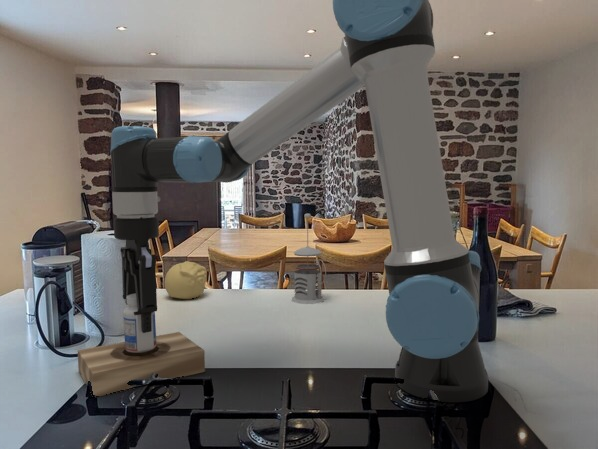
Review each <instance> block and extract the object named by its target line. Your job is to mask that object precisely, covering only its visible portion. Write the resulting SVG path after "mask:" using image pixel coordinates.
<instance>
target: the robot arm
mask: <svg viewBox="0 0 598 449" xmlns="http://www.w3.org/2000/svg"><path fill="white" fill-rule="evenodd" d="M332 10H333V15H334V17H335V20H336V23H337V26H338V27H339V29H340V30H341V31H342V32H343V33H344V37H343V38H342V39H341V43H340V46H339V48H338V49H336V50H335V51H334V52H332V53H331V54H330V55H329V56H327V57H326V58H325V59H323V60H322V61H321V62H319V63H318V64H317V65H315V66H314V67H313V68H311V69H310V70H309V71H307V72H306V73H304V74H303V75H302V76H300V77H299V78H298V79H296V80H295V81H294V82H292V83H291V84H290V85H289V86H288V87H286V88H284V89H283V90H282V91H280V92H279V93H278V94H277V95H275V96H274V97H273V98H272V99H270V100H269V101H267V102H266V103H265V104H263V105H262V106H260V107H259V108H258V109H256V110H255V111H254V112H252V113H251V114H250V115H249V116H247V117H246V118H244V119H243V120H241V121H240V122H239V123H238V124H237V125H235V126H234V127H232V128H231V129H230V130H229V131H228V132H226V133H225V134H223V135H222V136H220V137H219V138H218V139H216V140H214V139H213V138H212V137H210V136H200V135H198V136H196V135H188V136H177V137H162V138H161V137H157V134H156V130H155V129H154V128H152V127H149V126H138V125H133V126H128V125H126V126H125V125H123V126H117V127H115V128H113V129H112V131H111V135H110V136H111V137H110V138H111V139H110V151H109V153H110V159H111V160H110V161H111V162H110V163H111V172H112V173H111V178H112V191H111V192H112V194H111V196H112V197H111V198H112V213H113V215H115V216H116V217H115V218H114V219H113V234H114V235H113V236H114V238H115V239H117V240H119V241H125V246H123V247H121V248H120V256H121V271H122V272H121V273H122V274H121V276H122V281H121V282H122V299H123V300H124V303H125V305H126V308H127V307H128V305H127V296H128V295H130V294H135V293H136V299H137V308H138V311H137V312H134V315H136V331H137V350H138V351H142V350H147V349H152V348H154V337H153V312H154V311H155V312H157V311H158V303H157V302H158V301H157V300H158V296H157V294H158V293H157V273H156V272H157V271H156V266H157V256H156V254H153V253H152V249H151V248H150V243H149V240H151V239H157V238H158V237H159V235H160V231H159V230H160V229H159V228H160V227H159V225H160V224H159V218H158V217H157V216H155V215H157V214H158V212H159V205H158V204H159V202H161V197H160V196H158V186H159V185H158V183H190V184H202V183H211V182H212V183H213V182H214V183H219V182H220V183H226V184H227V183H232V182H236V181H239V180H241V179H243V178H244V177H245V176H246V175H247V174H248V171H249V170H250V167H252V165H253V164H255V163H256V162H258V161H259V160H260V159H262V158H263V157H265V156H266V155H268V154H269V153H271V152H272V151H274V150H275V149H277V147H279V146H281V145H282V144H284V143H285V142H287V141H288V140H289V139H291V138H292V137H293V136H296V135H297V134H298V133H300V132H301V131H302V130H304V129H305V128H306V127H308V126H310V125H312V123H314V122H315V121H316V120H318V119H319V118H320V117H323V116H324V115H325V114H327V113H328V112H329V111H331V110H332V109H334V108H335V107H337V106H338V105H340V104H341V103H343V102H344V101H346V100H347V99H349V98H350V97H351V96H352V95H354V94H356V93H357V92H358V91H360V90H361V89H363V88H365V94H366V100H367V106H368V111H369V116H370V117H369V118H370V123H371V130H372V135H373V142H374V147H375V153H376V159H377V165H378V170H379V176H380V183H381V188H382V195H383V199H384V206H385V212H386V218H387V224H388V229H389V236H390V242H391V247H392V248H391V250H390V252H389V254H388V255H387V256H386V257H385V259H384V260H383V262H384V263H383V264H384V270H385V276H386V283H387V287H388V297H387V300H386V305H385V321H386V324H387V328H388V330H389V332H390V334H391V336H392V337H393V339H394V340H395V341H396V342H397V344H398V345H400V346H401V350H400V353H399V357H398V360H397V361H396V364H395V367H394V368H395V369H394V371H395V372H394V378H395V377H396V378H401V379H404V383H403V384H396V385H397V386H398V387H399V389H401V390H402V391H404V392H406V393H408V394H409V395H412V396H415V397H418V398H420V397H421V399H424V398H427V397H428V392H429V391H430V390H432V391H434V393H435V394H436V395H437V397H438V398H439V400H440V401H441V403H442V402H443V403H467V402H471V401H475V400H478V399H481V398H482V397H484V396H485V395H486V394H487V393H488V392H489V373H488V372H487V370H486V366H485V362H484V358H483V355H482V351H481V348H480V344H479V324H480V313H479V312H480V282H481V281H480V280H481V278H480V277H481V272H482V265H481V257H480V254H479V253H478V252H477V251H475V250H469V249H468V248H467V247H466V246H464V245H463V244H462V243H460V242H459V241H457V240H456V238H455V232H454V228H453V221H452V215H451V209H450V203H449V197H448V191H447V186H446V184H447V183H446V178H445V172H444V168H443V161H442V154H441V148H440V143H439V137H438V131H437V124H436V119H435V114H434V106H433V102H432V95H431V89H430V83H429V77H428V71H427V67H428V65H429V63H430V62H431V60H432V58H434V55H435V54H436V48H435V43H434V42H435V41H434V34H433V28H434V13H433V9H432V5H431V3H430V1H429V0H332ZM440 401H439V402H440Z"/></svg>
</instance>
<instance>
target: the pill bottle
mask: <svg viewBox="0 0 598 449" xmlns="http://www.w3.org/2000/svg"><path fill="white" fill-rule="evenodd" d="M127 306H128V307H127ZM137 311H138V308H137V299H136V293H135V294H130V295H128V296H127V305H126V307H125V309H124V310H123V312H122V314H123V330H124V331H123V332H124V334H123V335H124V342H125V349H126V351H128V352H132V353H142V352H147V351H150V350H152V349H154V348H155V347H156V336H157V331H156V330H157V329H156V327H157V326H156V311H154V312H153V337H154V348H152V349H147V350H142V351H138V350H137V331H136V315H134V312H137Z"/></svg>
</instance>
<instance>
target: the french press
mask: <svg viewBox="0 0 598 449" xmlns="http://www.w3.org/2000/svg"><path fill="white" fill-rule="evenodd" d="M304 218H306V220H307V222H306V224H307V225H306V228H307V230H306V232H307V234H306V235H307V236H306V239H307V240H306V242H307V243H306V244H307V245H306V247H301V248H299V249H297V250H295V251H294V252H293V254H294V256H297V257H307V262H306V264H304V263H303V264H302V263H301V264H297V265H296V266H295V269H297V270H295V271H293V273H294V274H293V275H294V276H293V277H294V290H293V291H294V296H292V298H291V299H292V300H291V302H293V301H294V303H295V302H297V303H296V304H301V305H302V304H303V305H314V304H320V303H323V302H324V301H325V300H326V299H325V297H323V296H322V284H323V283H324V282H325V281H326V277H327V269H326V265H325V263H324V261H323V260H322V259H321V258H318V260H317V259H314V260H313V263H314V264H313V263H312V264H310V263H309V257H319V256H320V255H322V253H323V252H322V251H321V250H319V249H318V248H315V247H312V246H309V218H312V214H311V213H305V214H304ZM320 261H321V262H322V264H323V267H324V279H323V281H322V267H321V264H320ZM319 269H320V270H319ZM316 280H317V281H316Z"/></svg>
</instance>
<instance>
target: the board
mask: <svg viewBox="0 0 598 449" xmlns="http://www.w3.org/2000/svg"><path fill="white" fill-rule="evenodd" d="M205 355H206V354H205V349H204V348H203V347H201V346H199V344H196V343H195V342H194V341H192V340H191V339H189V338H188V337H187V336H185V335H184V334H183V333H181V332H180V331H177V332H171V333H166V334H158V335H156V347H155V348H154V349H152V350H150V351H147V352H142V353H132V352H128V351H126V349H125V341H122V342H115V343H110V344H105V345H98V346H94V347H87V348H83V349H78V350H77V363H78V364H77V367H78V373H79V375H80V377H81V378H82V380H83V381H84V384H85V385H86V384H87V382H88V381H90V382H91V386H92V391H93V395H96V396H99V397H102V396H107V395H111V394H110V393H112V394H114V393H113V392H116V391H120V390H124V391H126V390H125V389H129V388H132V387H133V386H130V385H128V384H127V383H128V382H129V381H131V380H134V379H146V378H147V377H149V376H150V375H151V374H152V373H157V374H158V377H161V378H171V377H180V378H183V377H182V376H184V377H187V376H192V375H196V374H201V373H204V372H206V366H205V364H206V362H205V361H206V360H205V358H206V357H205ZM129 390H130V389H129ZM120 392H121V391H120ZM116 393H117V392H116ZM106 394H107V395H106Z"/></svg>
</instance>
